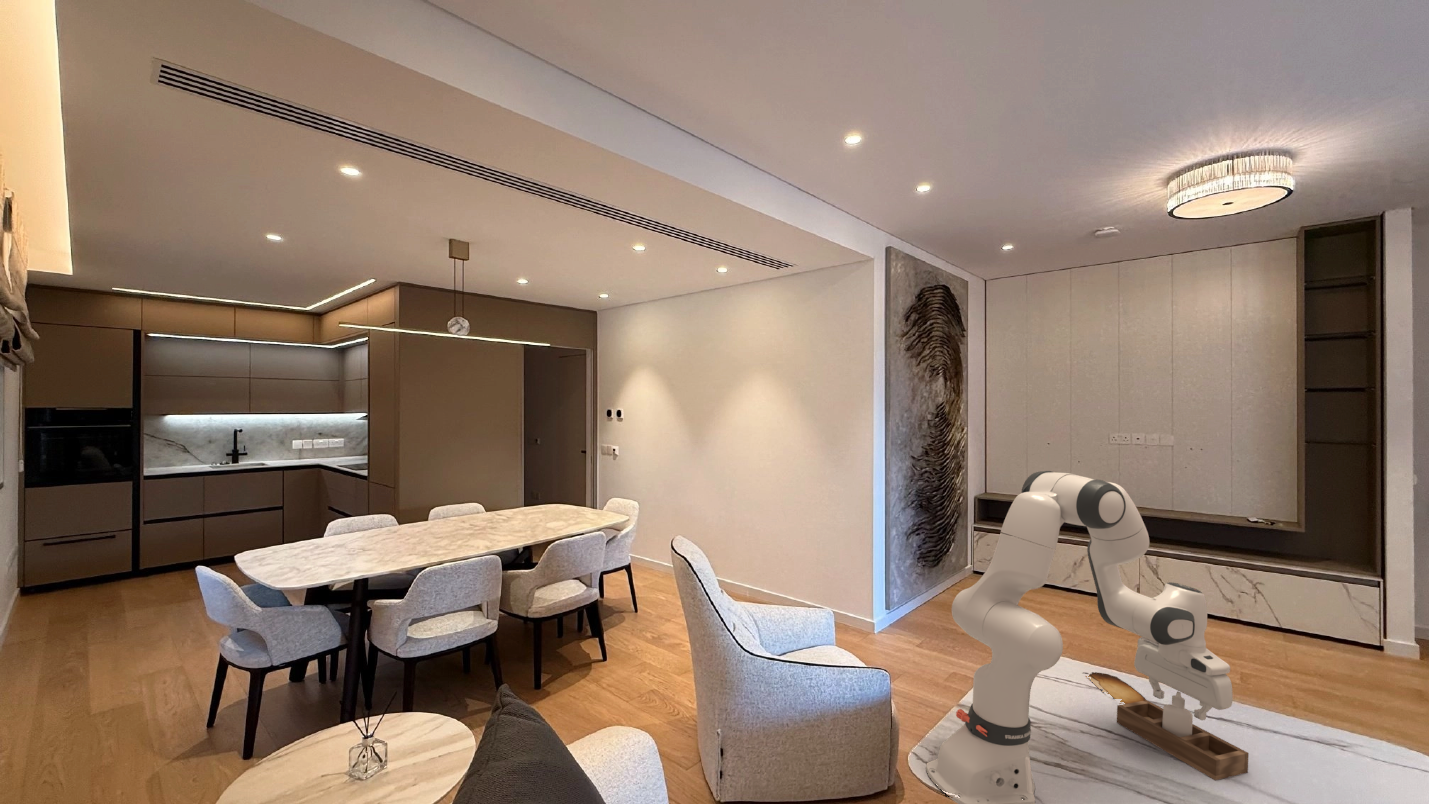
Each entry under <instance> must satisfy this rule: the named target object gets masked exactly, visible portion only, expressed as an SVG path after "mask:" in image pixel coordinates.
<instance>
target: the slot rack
mask: <svg viewBox="0 0 1429 804" xmlns="http://www.w3.org/2000/svg"><path fill="white" fill-rule="evenodd" d="M1122 704H1123V705H1120V704H1119V705H1118V704H1117V706H1116V707H1117V708H1116V723H1117V724H1118V725H1120V726H1122V727H1123V728H1125V729H1127V730H1129V731H1130V732H1132V733H1134V734H1135V735H1137V736H1138V737H1140V736H1141V738H1142V739H1144V740H1146V741H1147V742H1149V743H1151V744H1153V745H1154V746H1155V747H1157V748H1159V749H1161V750H1162V751H1165V752H1166V753H1168V754H1170V755H1171V756H1172V757H1175V758H1176V759H1177V760H1180V761H1182V762H1183V763H1185V764H1187V766H1191V767H1192V768H1194V769H1195V770H1197V771H1198V772H1200V773H1203V774H1204V775H1205V776H1207V777H1208V778H1211V779H1212V780H1214V781H1219V780H1222V779H1228V778H1232V777H1236V776H1239V775H1243V774H1247V773H1249V755H1250V754H1249V752H1247V751H1246V750H1244V749H1242V748H1240V747H1238V746H1236V745H1234V744H1232V743H1230V742H1229V741H1227V740H1225V739H1223V738H1220V737H1219V736H1217V735H1215V734H1213V733H1212V732H1209V731H1207V730H1205V729H1203V728H1201V727H1199V726H1197V725H1195V724H1193V723H1192V735H1189V736H1184V737H1178V736H1176V735H1175V734H1173V733H1171V732H1169V731H1167V730H1166V729H1164V728H1162V722H1163V708H1162V707H1161V706H1159V705H1157V704H1155V703H1153V702H1151V701H1149V700H1147V699H1146V700H1145V701H1140V702H1134V703H1128V704H1124V703H1122Z"/></svg>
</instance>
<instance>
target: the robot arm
mask: <svg viewBox="0 0 1429 804" xmlns="http://www.w3.org/2000/svg"><path fill="white" fill-rule="evenodd" d="M1064 523H1067V524H1070V525H1076V526H1083V527H1086V528H1087V531H1088V534H1089V536H1090V540H1089V541H1088V543H1087V547H1086V548H1087V550H1086V553H1087V557H1088V562H1089V567H1090V571H1091V574H1092V578H1093V581H1094V584H1095V590H1096V595H1097V597H1096V598H1097V599H1096V600H1097V604H1096V605H1097V610H1098V612H1099V615H1100V617H1101V619H1103V621H1104V622H1106V624H1109V625H1111V626H1114V627H1116V628H1120V629H1122V630H1126V631H1128V632H1131V633H1132V634H1135V635H1137V636H1139V638H1138V639H1137V649H1136V652H1135V655H1134V656H1135V657H1134V661H1133V662H1134V665H1133V666H1134V667H1135V670H1136V672H1138V673H1140V674H1143V675H1144V676H1146V677H1148V682H1149V684H1150V685H1151V688H1152V690H1153V691H1152V695H1153V697H1154V698H1157V699H1159V700H1163V699H1164V698H1165V691H1164V690H1162V688H1161V685H1160V684H1159V683H1161V684H1163V685H1164V686H1165V685H1166V686H1168V687H1170V688H1171V689H1174V690H1176V691H1177V692H1180V693H1181V694H1184V695H1186V696H1188V697H1190V698H1193V699H1195V700H1197V701H1198V702H1199V706H1200V707H1201V708H1198V709H1194V710H1193V711H1194V712H1193V717H1194V718H1196V719H1199V720H1200V721H1205V720H1206V719H1207V713H1208V712H1209V711H1210V710H1211V709H1215V710H1218V711H1222V710H1227V709H1230V708H1231V707H1232V705H1233V685H1232V681H1231V678H1230V677H1229V675H1227V674H1229V673H1230V672H1231V665H1230V664H1229V663H1227V662H1226V661H1224V660H1223V659H1222V658H1220V657H1219V656H1218V655H1216V654H1215V653H1213V652H1212V651H1211V650H1209V649H1208V648H1207V641H1206V639H1205V633H1206V630H1207V627H1208V605H1207V600H1206V596H1205V594H1204V592H1202V591H1201V590H1199V589H1197V588H1194V587H1191V586H1189V585H1184V584H1181V583H1177V582H1165V584H1164V587H1163V591H1162V592H1161V593H1159V594H1158V595H1156V596H1154V597H1150V596H1147V595H1145V594H1142V593H1140V592H1136V591H1134V590H1132V589H1131V588H1129V587H1128V586H1126V585H1125V584H1124V583H1123V581H1122V576H1121V572H1120V568H1119V565H1127V564H1131V563H1134V562H1135V561H1137V560H1139V559H1140V558H1142V557H1143V556H1144V555H1145V554H1146V553H1147V551H1148V549H1149V548H1150V537H1149V532H1148V530H1147V527H1146V524H1145V523H1144V521H1143V518H1142V515H1141V514H1140V512H1139V510H1138V507H1137V506H1136V504H1135V502H1134V501H1133V499H1132V498H1131V497H1130V495H1129V493H1128V492H1127V491H1126V489H1124V487H1123V486H1121V485H1120V484H1117V483H1115V482H1111V481H1105V480H1101V479H1094V478H1090V477H1087V476H1082V475H1078V474H1075V473H1071V472H1070V473H1068V472H1054V471H1051V470H1042V471H1036V472H1033V473H1031V474H1030V475H1029V476H1028V477H1027V478H1026V480H1025V481H1024V483H1023V485H1022V487H1021V493H1020V494H1018V495H1016V497H1014V500H1013V502H1012V503H1011V505H1010V507H1009V508H1008V511H1007V513H1006V516H1005V519H1004V520H1003V524H1002V525H1001V528H1000V534H999V537H998V540H997V544H996V546H995V549H994V553H993V555H992V557H991V558H992V559H991V560H990V564H989V565H988V567H987V569H986V570H985V572H984V573H983V575H982V576H981V577H980V578H979V579H978V581H976V582H975V583H974V584H973V585H972V586H970V587H968V588H965V589H964V588H963V590H961V591H959V592H958V593H957V594H956V596H954V597H955V598H954V599H953V601H952V604H951V616H952V619H953V621H954V623H956V624H957V625H958V626H959V627H960V629H962V630H963V631H964V632H965V633H966V634H967V635H968V636H969V637H971V638H973V639H975V640H977V641H978V642H980V643H982V644H983V645H985V646H987V647H989V648H990V650H991V653H992V655H991V661H990V663H985V664H983V665H981V666H979V667H978V668H977V669H976V670H975V672H974V674H973V686H972V703H971V705H970V706H969V710H968V712H965V711H964V709H961V708H958V709H957V711H956V712H955V716H956V718H957V719H959V720H961V721H962V722H963V723H964V724H963V725H962V726H961V727H959V728H958V729H957V730H956V731H955V732H954V733H953V734H951V736H949V737H948V738H947V739H946V740H945V741H943V742H942V743H941V744H940V747H939V751H938V755H937V758H936V759H933V760H931V761H928V762H927V763H926V766H925V771H926V773H928V774H927V775H928V777H929V779H930V778H931V779H930V780H931V781H932V782H933V784H934V785H935V784H937V785H938V787H937V788H938V789H939V790H940V789H942V790H943V791H945V792H948V793H952V794H955V795H958V796H959V797H960V798H958V797H955V795H950V796H951V797H953V798H951V797H948V798H949V799H951V800H952V801H953V802H955V803H957V804H1036V798H1035V795H1034V793H1035V790H1036V785H1035V782H1034V778H1033V773H1032V765H1031V757H1030V756H1031V755H1030V748H1029V747H1030V745H1029V741H1030V740H1031V733H1032V729H1031V726H1032V725H1031V719H1030V717H1029V716H1030V715H1029V714H1030V711H1029V710H1030V701H1031V699H1030V698H1031V691H1032V686H1033V682H1034V680H1035V678H1036V677H1037V675H1038V674H1039V673H1042V671H1047V670H1050V669H1051V668H1052V667H1054V666H1055V665H1056V664H1057V663H1058V662H1059V661H1060V658H1061V657H1062V655H1063V650H1064V649H1063V648H1064V643H1063V638H1062V637H1063V636H1062V634H1061V632H1060V631H1059V629H1057V627H1055V626H1054V625H1053V624H1052V623H1050V622H1049V621H1047V619H1045V618H1044V617H1042V616H1041V615H1039V614H1038V613H1036V612H1033V611H1031V610H1029V609H1028V608H1025V607H1023V606H1021V605H1019V603H1020V601H1021V600H1022V598H1023V596H1024V595H1025V594H1026V593H1028V592H1029V591H1030V590H1031V591H1032V590H1037V589H1039V588H1042V587H1043V586H1044V585H1046V583H1047V580H1048V577H1049V574H1050V570H1051V567H1052V563H1053V561H1054V557H1055V553H1056V549H1057V545H1058V540H1059V536H1060V529H1061V527H1062V526H1063V524H1064ZM1022 799H1023V800H1022Z"/></svg>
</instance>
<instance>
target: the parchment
mask: <svg viewBox="0 0 1429 804" xmlns="http://www.w3.org/2000/svg"><path fill="white" fill-rule="evenodd" d="M1082 674H1084V675H1085V677H1086V678H1087V676H1086V675H1089V676H1088V677H1091V679H1090V678H1089V679H1088V680H1089V681H1090V680H1091V681H1090V682H1093V683H1092V684H1093V685H1095V686H1096V687H1097V688H1098V689H1099V690H1100V689H1103V691H1101V692H1102V693H1103V692H1106V693H1107V692H1108V693H1107V694H1110V695H1111V696H1112V697H1113V698H1114V699H1122V700H1121V701H1120V702H1121V703H1119V705H1120V704H1122V702H1124V703H1125V704H1128V703H1134V702H1140V701H1145V700H1147V698H1146V697H1144V696H1143V695H1142V694H1141V693H1140V692H1139V691H1138V690H1137V689H1135V688H1134V687H1132V685H1130V684H1128V683H1127V682H1126V681H1124V680H1122V679H1120V677H1117V676H1114V675H1111V674H1109V673H1103V672H1098V671H1097V672H1096V671H1095V672H1094V671H1092V672H1091V673H1089V672H1082ZM1114 699H1113V700H1114ZM1124 703H1123V704H1124Z"/></svg>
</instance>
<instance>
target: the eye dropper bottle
mask: <svg viewBox="0 0 1429 804" xmlns="http://www.w3.org/2000/svg"><path fill="white" fill-rule="evenodd" d="M1185 705H1186V699H1185V698H1184V697H1182V692H1180V691H1176V693H1175V695H1172V696H1171V704H1165V705H1164V706H1163V722H1162V728H1164V729H1166V730H1167V731H1169V732H1171V733H1173V734H1175V735H1176V736H1178V737H1184V736H1189V735H1192V724H1193V721H1194V720H1193V717H1194V714H1193V713H1192V712H1191V711H1190V710H1188V709H1186V708H1185Z"/></svg>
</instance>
